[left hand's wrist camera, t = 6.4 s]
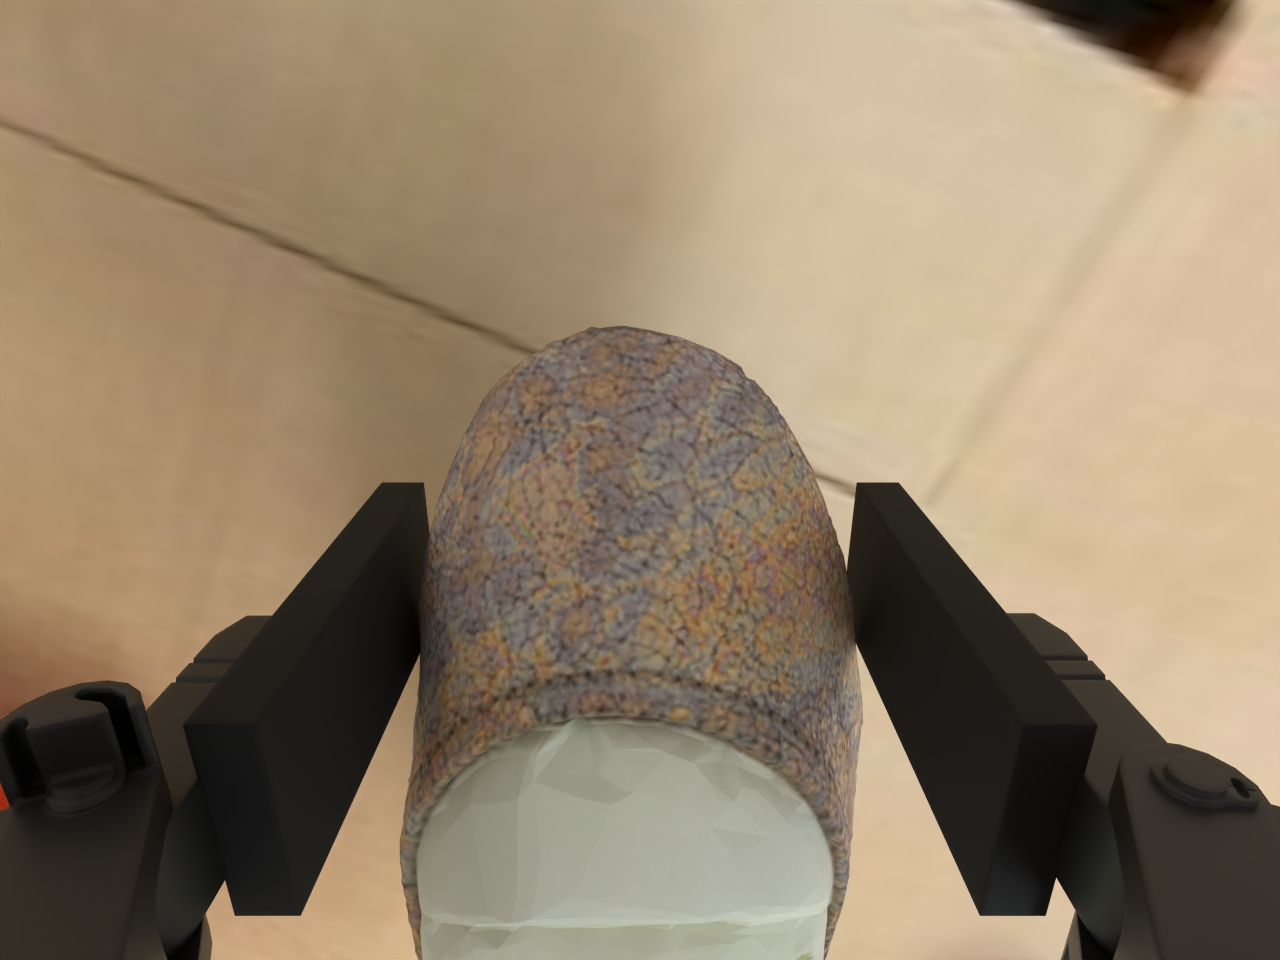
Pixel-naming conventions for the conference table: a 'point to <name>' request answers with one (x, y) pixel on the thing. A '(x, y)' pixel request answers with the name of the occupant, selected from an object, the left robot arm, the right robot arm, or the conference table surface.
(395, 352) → the conference table surface
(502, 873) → the ballet flat
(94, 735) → the left robot arm
